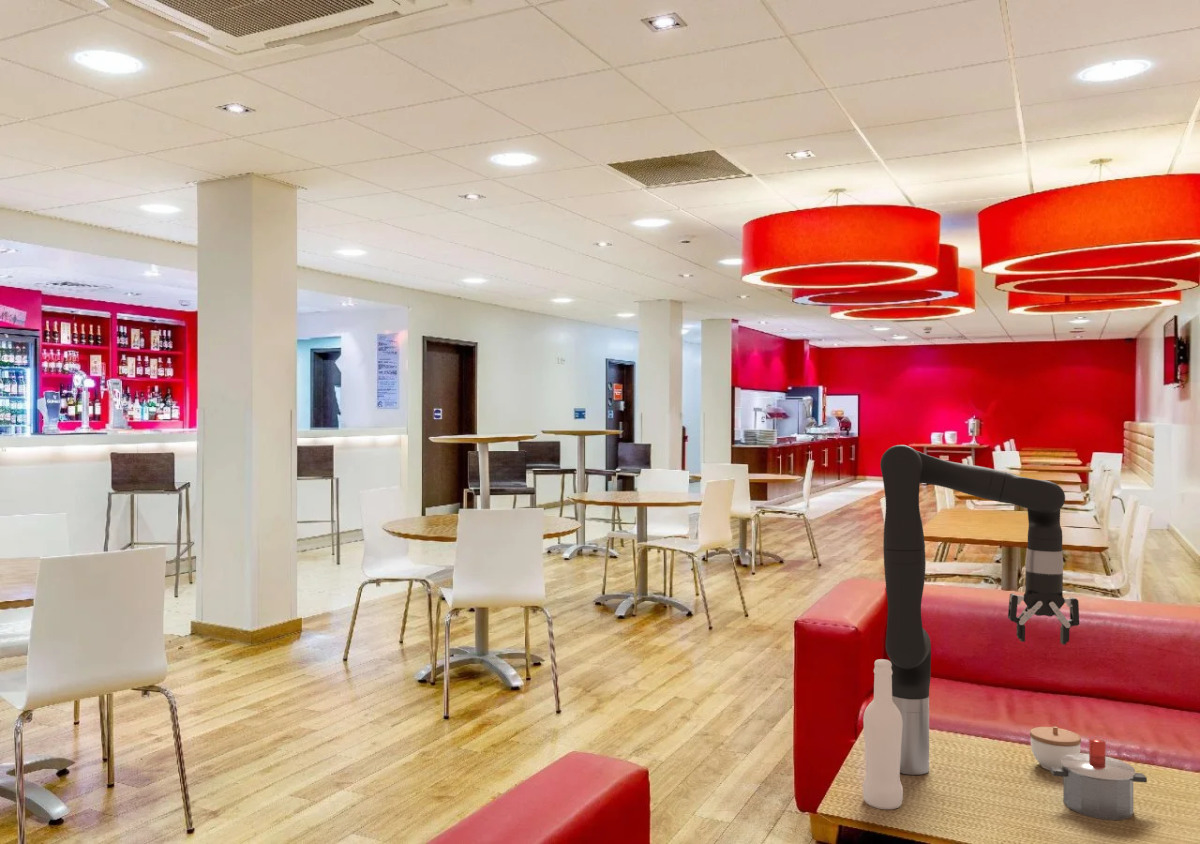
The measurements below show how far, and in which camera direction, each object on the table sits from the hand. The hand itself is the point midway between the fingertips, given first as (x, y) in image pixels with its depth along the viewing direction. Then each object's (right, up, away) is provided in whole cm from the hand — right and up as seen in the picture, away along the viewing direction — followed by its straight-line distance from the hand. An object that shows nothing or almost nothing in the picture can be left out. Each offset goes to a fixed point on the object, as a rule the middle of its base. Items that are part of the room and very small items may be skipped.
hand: (1042, 642), depth 205 cm
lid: (+5, -24, -13) cm, 28 cm away
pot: (+5, -31, -13) cm, 34 cm away
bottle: (-39, -31, -11) cm, 52 cm away
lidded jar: (+8, -32, +10) cm, 34 cm away
